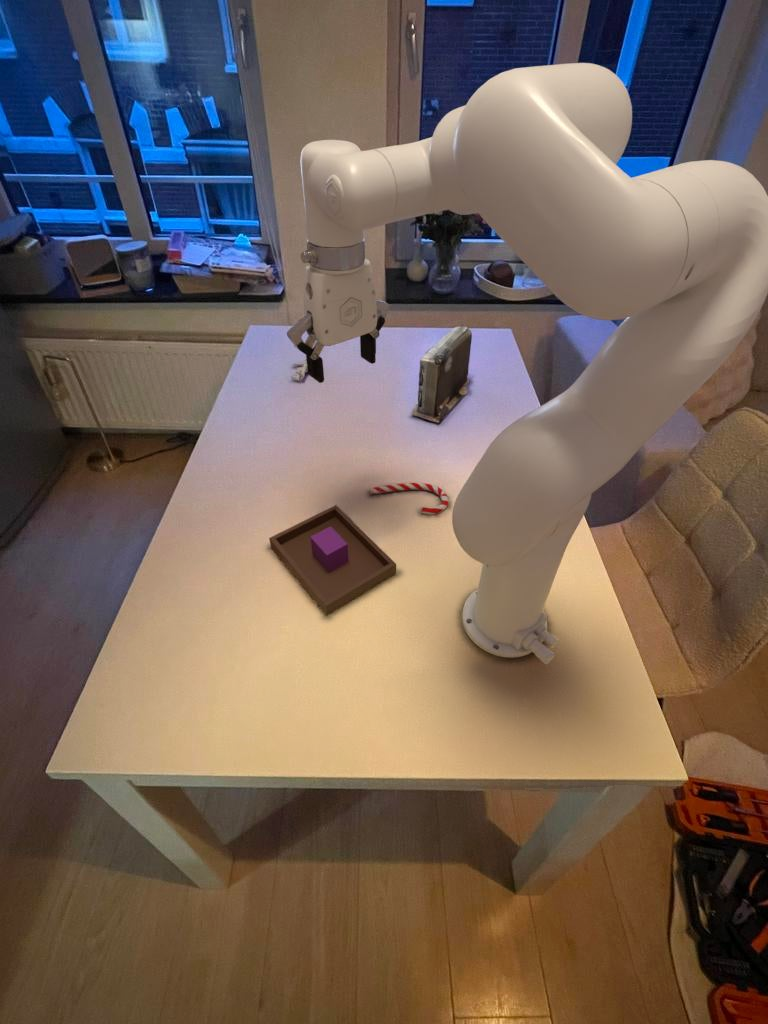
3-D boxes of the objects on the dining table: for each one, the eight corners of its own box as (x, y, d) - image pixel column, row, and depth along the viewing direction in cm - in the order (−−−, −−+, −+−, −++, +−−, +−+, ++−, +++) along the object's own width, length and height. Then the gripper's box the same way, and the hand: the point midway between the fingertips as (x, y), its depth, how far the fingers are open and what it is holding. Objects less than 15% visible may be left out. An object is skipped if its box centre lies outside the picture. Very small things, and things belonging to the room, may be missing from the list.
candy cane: (372, 476, 102) (449, 484, 101) (372, 482, 103) (449, 489, 102) (366, 504, 97) (447, 512, 95) (366, 509, 98) (447, 517, 96)
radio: (452, 371, 134) (458, 314, 124) (483, 381, 130) (492, 323, 120) (404, 414, 120) (406, 354, 110) (436, 426, 117) (442, 365, 106)
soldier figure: (284, 382, 132) (295, 347, 137) (300, 393, 134) (310, 358, 140) (301, 368, 126) (311, 332, 132) (317, 379, 129) (327, 343, 134)
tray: (396, 573, 86) (396, 564, 85) (326, 615, 81) (325, 606, 79) (336, 514, 96) (335, 504, 95) (271, 547, 91) (268, 537, 89)
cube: (348, 561, 88) (347, 543, 85) (328, 572, 86) (326, 555, 83) (332, 544, 91) (330, 526, 87) (312, 554, 89) (310, 536, 86)
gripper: (295, 276, 64) (308, 397, 76) (404, 248, 72) (401, 362, 84) (265, 259, 69) (282, 376, 81) (371, 234, 76) (373, 344, 88)
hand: (343, 369), depth 82 cm, fingers open, 9 cm apart
